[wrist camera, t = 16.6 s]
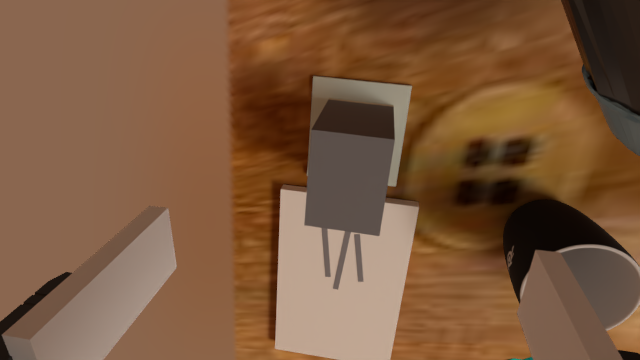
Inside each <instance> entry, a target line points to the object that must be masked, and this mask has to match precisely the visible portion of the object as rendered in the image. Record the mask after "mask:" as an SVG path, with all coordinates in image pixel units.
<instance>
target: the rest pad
mask: <svg viewBox="0 0 640 360" xmlns="http://www.w3.org/2000/svg"><path fill="white" fill-rule="evenodd" d="M411 89H412V85H404V84H394V83H384V82H374V81H364V80H354V79H343V78H333V77H323V76H313V87H312V103H311V119H310V135H309V151H308V166H307V175H308V168H309V154H310V140H311V129H312V127H313V126H314V124H315V122H316V120H317V119H318V117H319V115H320V113H321V112H322V110H323V108H324V106H325V105H326V103H327V101H328V99H329V98H332V99H341V100H350V101H358V102H367V103H376V104H385V105H393V106H394V129H395V142H394V149H393V155H392V161H391V167H390V174H389V180H388V186H395V187H396V182H397V176H398V170H399V164H400V157H401V151H402V145H403V139H404V132H405V126H406V120H407V114H408V107H409V101H410V95H411Z"/></svg>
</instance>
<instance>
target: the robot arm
mask: <svg viewBox="0 0 640 360" xmlns="http://www.w3.org/2000/svg"><path fill="white" fill-rule="evenodd" d="M561 2H562V4H563V7H564V10H565V13H566V16H567V19H568V21H569V24H570V27H571V30H572V33H573V35H574V38H575V41H576V44H577V47H578V50H579V52H580V55H581V58H582V61H583V67H582V73H583V77H584V80H585V83H586V85H587V87H588V89H589V90H590V91H591V93H593V95H594V96H595V97H596V99H597V100H598V102H599V105H600V107H601V110H602V112H603V114H604V117H605V119H606V121H607V124H608V126H609V128H610V130H611V131H612V133H613V134H614V135H615V136H616V138H617V139H619V140H620V141H621V142H622V143H623V144H624V145H625V146H626V147H627V148H628V149H629V150H631V151H633V152H634V153H635V154H637V155H639V156H640V0H561ZM176 268H177V266H176V259H175V252H174V245H173V238H172V231H171V224H170V217H169V211H168V208H165V207H155V206H149V207H147V208H146V209H145V210H144V211H143V212H142V213H141V214H139V215H138V216H137V217H136V218H135V219H134V220H133V221H131V222H130V223H129V224H128V225H127V226H126V227H125V228H123V229H122V230H121V231H120V232H119V233H118V234H117V235H115V236H114V237H113V238H112V239H111V240H110V241H109V242H108V243H106V244H105V245H104V246H103V247H102V248H101V249H100V250H98V251H97V252H96V253H95V254H94V255H93V256H92V257H90V258H89V259H88V260H87V261H86V262H85V263H83V264H82V265H81V266H80V267H79V268H78V269H77V270H75V271H74V272H73V273H69V272H65V273H64V274H62V275H60V276H58V277H56V278H54V279H52V280H50V281H48V282H47V283H46V284H45V285H44V286H42V287H41V288H40V289H39V290H38V291H36V292H35V295H32V296H31V297H29V298H28V299H27V300H26V301H25V302H24V304H23V305H20V306H19V307H17V308H16V309H15V310H14V311H13V312H11V313H10V314H9V315H8V316H7V317H6V318H4V319H3V320H2V321H1V322H0V360H103V359H104V358H105V357H106V356H107V354H108V353H109V352H110V350H111V349H112V348H113V347H114V345H115V344H116V343H117V342H118V340H119V339H120V338H121V337H122V335H123V334H124V333H125V332H126V330H127V329H128V328H129V327H130V325H131V324H132V323H133V322H134V320H135V319H136V318H137V317H138V315H139V314H140V313H141V311H142V310H143V309H144V308H145V306H146V305H147V304H148V303H149V302H150V300H151V299H152V298H153V297H154V295H155V294H156V293H157V292H158V290H159V289H160V288H161V286H162V285H163V284H164V283H165V282H166V280H167V279H168V278H169V276H170V275H171V274H172V273H173V271H174V270H175V269H176ZM517 315H518V318H519V321H520V323H521V326H522V329H523V332H524V335H525V338H526V341H527V344H528V347H529V349H530V352H531V355H532V358H533V360H640V354H638V353H635V352H628V351H621V350H617V349H616V347H615V345H614V343H613V342H612V340H611V338H610V337H609V335H608V333H607V332H606V330H605V328H604V326H603V325H602V323H601V321H600V320H599V318H598V316H597V315H596V313H595V311H594V309H593V308H592V306H591V304H590V303H589V301H588V299H587V297H586V296H585V294H584V292H583V291H582V289H581V287H580V286H579V284H578V282H577V280H576V279H575V277H574V275H573V274H572V272H571V270H570V268H569V267H568V265H567V263H566V262H565V260H564V258H563V257H562V255H561V253H560V252H551V251H542V250H535V253H534V257H533V260H532V264H531V267H530V271H529V274H528V278H527V281H526V285H525V288H524V291H523V295H522V298H521V302H520V305H519V309H518V312H517Z"/></svg>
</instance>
